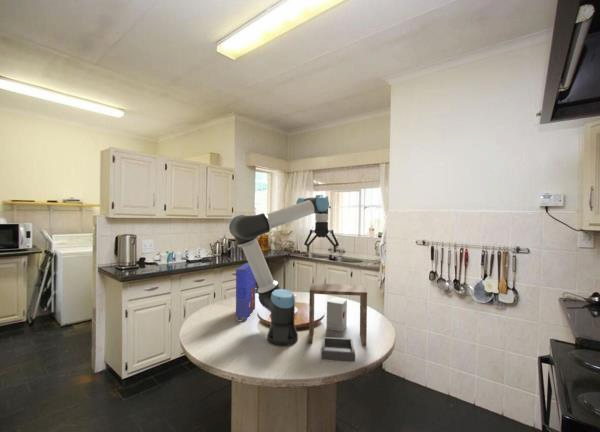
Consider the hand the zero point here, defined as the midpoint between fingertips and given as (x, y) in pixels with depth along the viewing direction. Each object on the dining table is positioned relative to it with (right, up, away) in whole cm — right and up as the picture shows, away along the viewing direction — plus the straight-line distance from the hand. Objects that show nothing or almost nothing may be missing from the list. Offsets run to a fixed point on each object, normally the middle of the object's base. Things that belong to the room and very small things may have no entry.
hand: (321, 257), depth 166 cm
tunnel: (+6, -37, -24) cm, 44 cm away
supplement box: (+8, -37, -10) cm, 39 cm away
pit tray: (+5, -37, -38) cm, 54 cm away
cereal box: (-46, -36, +8) cm, 59 cm away
